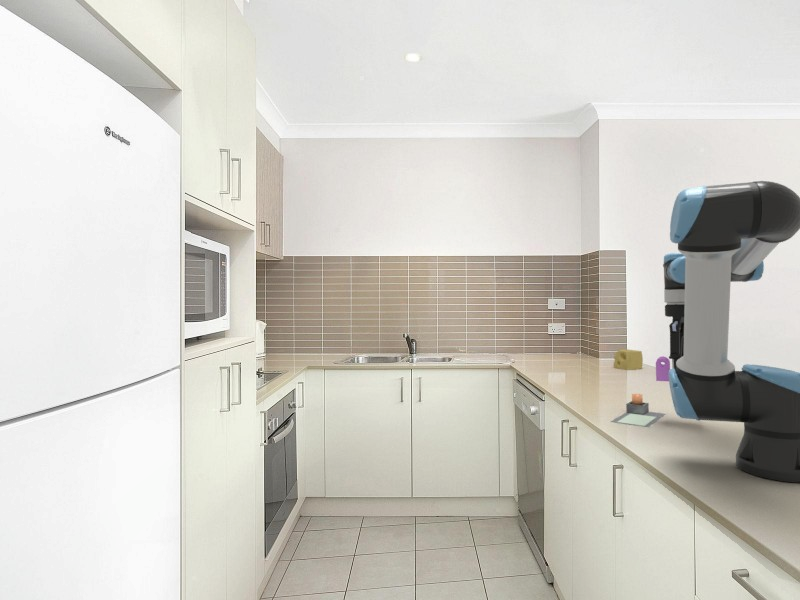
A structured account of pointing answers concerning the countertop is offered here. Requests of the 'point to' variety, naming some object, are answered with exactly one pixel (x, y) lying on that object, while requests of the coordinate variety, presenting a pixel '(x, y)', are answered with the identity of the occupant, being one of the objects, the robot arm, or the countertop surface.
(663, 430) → the countertop surface
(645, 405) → the button housing
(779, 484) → the countertop surface
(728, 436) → the countertop surface
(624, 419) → the grey flat plate
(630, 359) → the cheese
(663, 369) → the bracket
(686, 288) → the robot arm
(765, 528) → the countertop surface
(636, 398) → the button
